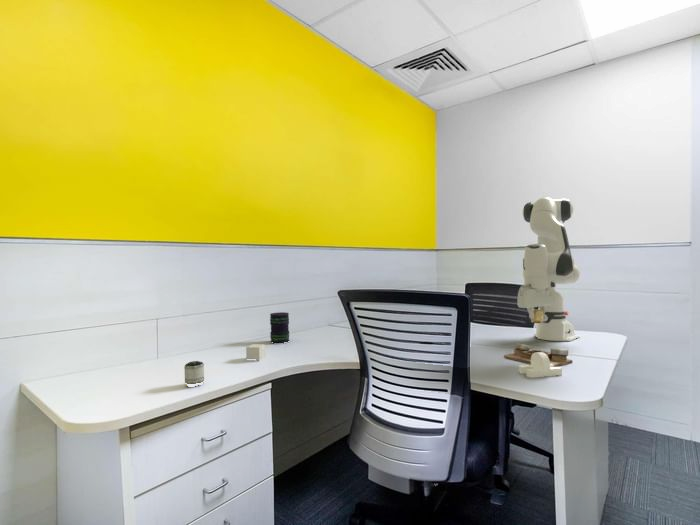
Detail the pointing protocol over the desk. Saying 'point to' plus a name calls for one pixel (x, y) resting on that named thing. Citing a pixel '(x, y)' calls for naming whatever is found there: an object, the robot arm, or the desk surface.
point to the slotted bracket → (540, 366)
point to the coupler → (537, 316)
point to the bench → (525, 355)
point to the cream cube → (255, 351)
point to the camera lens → (194, 372)
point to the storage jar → (279, 327)
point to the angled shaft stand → (559, 354)
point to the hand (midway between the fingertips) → (536, 317)
